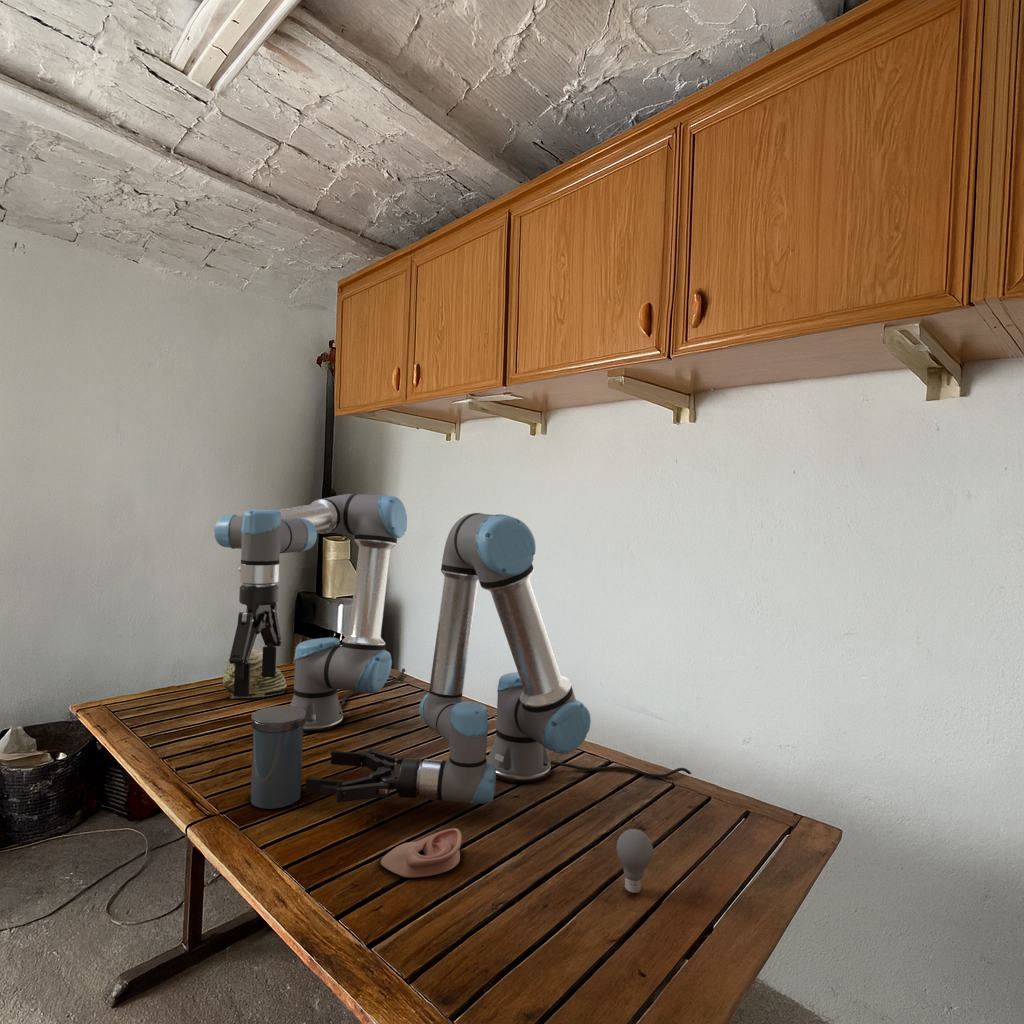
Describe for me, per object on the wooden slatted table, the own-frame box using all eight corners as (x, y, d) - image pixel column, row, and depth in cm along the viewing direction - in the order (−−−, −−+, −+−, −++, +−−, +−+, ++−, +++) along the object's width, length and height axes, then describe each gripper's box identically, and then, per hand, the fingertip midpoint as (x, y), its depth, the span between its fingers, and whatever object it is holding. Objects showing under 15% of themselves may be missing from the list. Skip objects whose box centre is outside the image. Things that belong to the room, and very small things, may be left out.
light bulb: (610, 879, 108) (613, 822, 108) (644, 879, 109) (647, 822, 109) (619, 902, 102) (622, 840, 102) (655, 901, 103) (658, 840, 103)
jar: (308, 788, 137) (311, 709, 137) (289, 810, 127) (293, 725, 127) (263, 785, 138) (266, 707, 138) (241, 807, 128) (244, 722, 128)
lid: (313, 715, 137) (313, 707, 137) (293, 734, 127) (294, 724, 127) (264, 713, 138) (265, 704, 138) (241, 730, 127) (241, 721, 127)
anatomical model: (374, 849, 108) (399, 816, 119) (373, 872, 108) (398, 837, 119) (448, 861, 105) (467, 826, 116) (447, 885, 105) (466, 848, 116)
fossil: (218, 695, 195) (220, 647, 195) (278, 685, 208) (279, 640, 207) (228, 703, 189) (230, 653, 188) (289, 692, 201) (290, 645, 201)
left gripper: (265, 576, 144) (262, 669, 144) (212, 592, 119) (208, 704, 119) (298, 577, 144) (294, 670, 144) (252, 593, 119) (248, 706, 119)
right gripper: (404, 827, 118) (293, 818, 119) (431, 771, 142) (339, 763, 144) (405, 787, 117) (295, 778, 119) (433, 737, 142) (341, 731, 144)
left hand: (255, 686), depth 132 cm, fingers open, 13 cm apart
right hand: (319, 770), depth 132 cm, fingers open, 13 cm apart
